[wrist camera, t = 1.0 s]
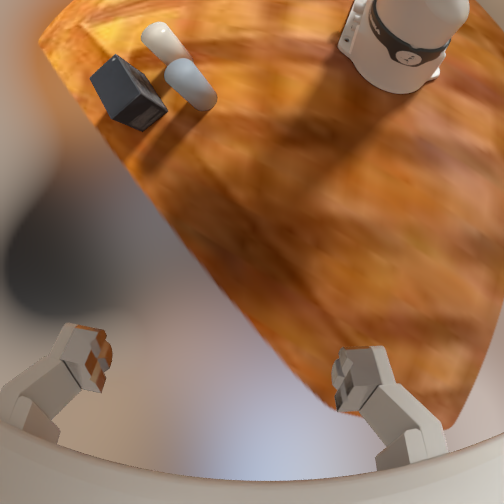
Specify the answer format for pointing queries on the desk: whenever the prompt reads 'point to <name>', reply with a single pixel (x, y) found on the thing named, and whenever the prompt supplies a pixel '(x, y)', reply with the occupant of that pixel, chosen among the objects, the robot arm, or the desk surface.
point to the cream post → (164, 43)
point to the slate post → (190, 84)
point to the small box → (127, 94)
